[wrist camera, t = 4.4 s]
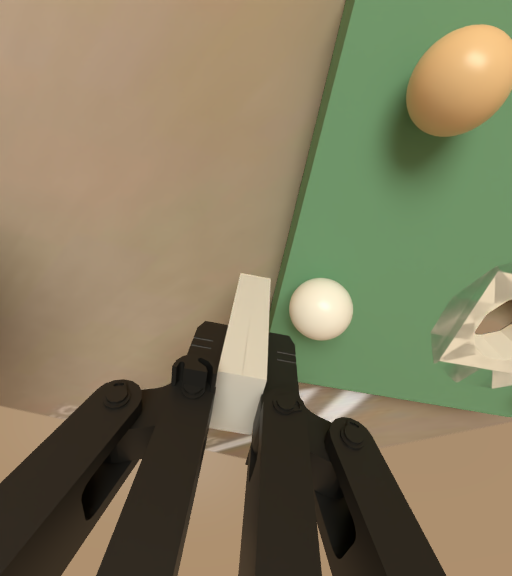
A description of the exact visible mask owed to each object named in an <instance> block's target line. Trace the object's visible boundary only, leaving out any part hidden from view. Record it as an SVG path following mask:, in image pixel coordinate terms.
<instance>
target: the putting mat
mask: <svg viewBox="0 0 512 576" xmlns="http://www.w3.org/2000/svg"><path fill="white" fill-rule="evenodd" d="M480 24H484V25H491V26H494V27H497V28H499V29H501V30H503V31H504V32H505V33H506V34H508V36H509V37H510V38H511V39H512V0H346V2H345V7H344V11H343V15H342V19H341V23H340V27H339V31H338V35H337V39H336V43H335V47H334V51H333V55H332V59H331V64H330V68H329V72H328V76H327V80H326V84H325V88H324V92H323V96H322V100H321V104H320V108H319V112H318V116H317V121H316V125H315V129H314V133H313V137H312V141H311V145H310V149H309V153H308V157H307V161H306V165H305V169H304V174H303V178H302V182H301V186H300V190H299V194H298V198H297V202H296V206H295V210H294V214H293V218H292V222H291V226H290V231H289V235H288V239H287V243H286V247H285V251H284V255H283V259H282V263H281V267H280V271H279V275H278V279H277V283H276V288H275V292H274V296H273V300H272V304H271V308H270V312H269V332H271V333H277V334H282V335H288V336H290V338H291V339H292V341H293V343H294V344H295V352H296V355H295V356H296V364H297V376H298V382H302V383H308V384H314V385H320V386H326V387H332V388H338V389H344V390H350V391H355V392H361V393H367V394H373V395H379V396H385V397H391V398H397V399H403V400H409V401H415V402H421V403H427V404H433V405H439V406H445V407H451V408H457V409H463V410H469V411H475V412H481V413H487V414H493V415H499V416H505V417H512V324H510V325H509V326H507V327H505V328H504V329H502V330H500V331H496V332H492V333H487V334H482V335H478V334H475V330H476V329H477V327H478V326H479V324H480V323H481V322H482V320H483V319H484V317H485V316H486V314H488V313H489V312H491V311H492V310H494V309H496V308H497V307H499V306H500V305H502V304H503V303H505V302H507V301H508V300H512V90H511V92H510V94H509V96H508V98H507V99H506V101H505V102H504V103H503V105H502V106H501V107H500V108H499V110H498V111H497V112H496V113H495V114H494V115H493V116H492V117H490V118H489V119H488V120H487V121H486V122H484V123H483V124H481V125H480V126H478V127H476V128H474V129H473V130H471V131H468V132H466V133H463V134H460V135H456V136H450V137H439V136H433V135H430V134H427V133H425V132H423V131H422V130H420V129H419V128H418V127H417V126H416V125H415V124H414V123H413V121H412V120H411V118H410V116H409V113H408V110H407V104H406V93H407V87H408V83H409V80H410V77H411V75H412V72H413V70H414V68H415V66H416V64H417V63H418V61H419V60H420V58H421V57H422V56H423V55H424V53H425V52H426V51H427V50H428V49H429V48H430V47H431V46H432V45H433V44H434V43H435V42H437V41H438V40H439V39H441V38H442V37H444V36H445V35H447V34H448V33H450V32H452V31H454V30H456V29H459V28H462V27H465V26H469V25H480ZM314 278H327V279H331V280H334V281H336V282H337V283H339V284H340V285H342V286H343V287H344V288H345V289H346V290H347V292H348V293H349V295H350V297H351V300H352V303H353V316H352V320H351V322H350V324H349V326H348V327H347V329H346V330H345V331H344V332H343V333H342V334H340V335H339V336H337V337H335V338H333V339H330V340H323V341H319V340H313V339H310V338H308V337H306V336H304V335H303V334H301V333H300V332H299V331H298V330H297V329H296V328H295V326H294V325H293V323H292V320H291V318H290V314H289V304H290V300H291V297H292V295H293V293H294V291H295V290H296V289H297V288H298V287H299V286H300V285H301V284H302V283H304V282H306V281H308V280H310V279H314Z"/></svg>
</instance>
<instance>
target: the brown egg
mask: <svg viewBox="0 0 512 576" xmlns="http://www.w3.org/2000/svg"><path fill="white" fill-rule="evenodd" d="M511 90H512V39H511V38H510V37H509V36H508V34H506V33H505V32H504V31H503V30H501V29H499V28H497V27H494V26H491V25H484V24H480V25H469V26H465V27H462V28H459V29H456V30H454V31H452V32H450V33H448V34H447V35H445V36H444V37H442V38H441V39H439V40H438V41H437V42H435V43H434V44H433V45H432V46H431V47H430V48H429V49H428V50H427V51H426V52H425V53H424V55H423V56H422V57H421V58H420V60H419V61H418V63H417V64H416V66H415V68H414V70H413V72H412V75H411V77H410V80H409V83H408V87H407V93H406V104H407V110H408V113H409V116H410V118H411V120H412V121H413V123H414V124H415V125H416V126H417V127H418V128H419V129H420V130H422V131H423V132H425V133H427V134H430V135H433V136H439V137H450V136H456V135H460V134H463V133H466V132H468V131H471V130H473V129H474V128H476V127H478V126H480V125H481V124H483V123H484V122H486V121H487V120H488V119H489V118H490V117H492V116H493V115H494V114H495V113H496V112H497V111H498V110H499V108H500V107H501V106H502V105H503V103H504V102H505V101H506V99H507V98H508V96H509V94H510V92H511Z"/></svg>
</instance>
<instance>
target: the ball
mask: <svg viewBox="0 0 512 576" xmlns="http://www.w3.org/2000/svg"><path fill="white" fill-rule="evenodd" d="M289 314H290V318H291V320H292V323H293V325H294V326H295V328H296V329H297V330H298V331H299V332H300V333H301V334H303V335H304V336H306V337H308V338H310V339H313V340H319V341H323V340H330V339H333V338H335V337H337V336H339V335H340V334H342V333H343V332H344V331H345V330H346V329H347V327H348V326H349V324H350V322H351V320H352V316H353V303H352V300H351V297H350V295H349V293H348V292H347V290H346V289H345V288H344V287H343V286H342V285H340V284H339V283H337V282H336V281H334V280H331V279H327V278H314V279H310V280H308V281H306V282H304V283H302V284H301V285H300V286H299V287H298V288H297V289H296V290H295V291H294V293H293V295H292V297H291V300H290V304H289Z"/></svg>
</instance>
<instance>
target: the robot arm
mask: <svg viewBox="0 0 512 576" xmlns="http://www.w3.org/2000/svg"><path fill="white" fill-rule="evenodd" d="M270 282H271V279H270V278H264V277H259V276H254V275H249V274H243V273H241V274H240V278H239V282H238V287H237V291H236V295H235V299H234V303H233V308H232V312H231V316H230V320H229V325H224V324H218V323H213V322H208V321H205V322H204V323H203V324H201V325H200V326H199V327H198V328H197V330H196V333H195V336H194V338H193V341H192V343H191V346H190V349H189V351H188V354H187V355H186V356H183V357H181V358H179V359H178V360H176V362H175V363H174V365H173V366H172V381H171V383H170V384H169V385H166V386H164V387H161V388H156V389H146V390H141V389H140V387H139V385H137V384H136V383H134V382H133V381H129V380H114V381H111V382H109V383H106V384H104V385H103V386H101V387H100V388H98V389H97V390H96V391H95V392H94V393H93V394H92V395H91V396H90V397H89V398H88V399H87V400H86V401H85V402H84V403H83V404H82V405H81V406H80V407H79V408H77V409H76V410H75V411H74V412H73V413H72V414H71V415H70V416H69V417H68V418H67V419H66V420H65V421H64V422H63V423H62V424H61V425H60V426H59V427H58V428H57V429H56V430H55V431H54V432H53V433H52V434H51V435H50V436H49V437H48V438H47V439H46V440H44V442H42V443H41V444H40V446H38V447H37V448H36V449H35V450H34V451H33V452H32V453H31V454H30V455H29V456H28V457H27V458H26V459H25V460H24V461H23V462H22V463H21V464H20V465H19V466H18V467H17V468H16V469H15V470H14V471H13V472H12V473H10V474H9V476H7V477H6V478H5V479H4V480H3V481H2V482H1V483H0V576H61V575H62V573H63V572H64V570H65V569H66V567H67V566H68V564H69V563H70V561H71V560H72V558H73V557H74V555H75V554H76V552H77V551H78V550H79V548H80V547H81V545H82V543H83V542H84V541H85V539H86V538H87V536H88V535H89V533H90V532H91V530H92V529H93V527H94V526H95V524H96V523H97V521H98V520H99V518H100V517H101V516H102V514H103V513H104V511H105V510H106V508H107V507H108V505H109V504H110V502H111V500H112V499H113V498H114V496H115V494H116V493H117V492H118V490H119V489H120V487H121V486H122V484H123V483H124V482H125V480H126V478H127V477H128V475H129V474H130V473H131V471H132V470H133V468H134V467H135V465H136V464H137V462H138V461H139V459H142V461H141V464H140V466H139V469H138V471H137V474H136V477H135V479H134V481H133V484H132V487H131V489H130V492H129V494H128V497H127V499H126V502H125V504H124V507H123V509H122V512H121V514H120V517H119V520H118V522H117V525H116V527H115V530H114V532H113V535H112V537H111V540H110V542H109V545H108V547H107V550H106V553H105V555H104V557H103V560H102V563H101V565H100V568H99V570H98V573H97V575H96V576H177V575H178V570H179V566H180V561H181V557H182V552H183V547H184V543H185V538H186V534H187V529H188V524H189V520H190V514H191V510H192V506H193V501H194V497H195V492H196V487H197V482H198V478H199V473H200V469H201V464H202V460H203V455H204V450H205V446H206V440H207V434H208V430H209V428H212V429H218V430H223V431H229V432H235V433H241V434H247V435H251V434H252V430H253V434H252V443H251V447H250V450H249V453H248V457H247V460H246V465H248V471H247V481H246V493H245V505H244V516H243V528H242V539H241V551H240V563H239V574H238V576H322V572H321V562H320V553H319V541H318V531H317V524H318V528H319V531H320V534H321V538H322V542H323V545H324V549H325V552H326V555H327V559H328V562H329V566H330V569H331V572H332V576H446V574H445V572H444V571H443V569H442V567H441V565H440V563H439V561H438V559H437V557H436V555H435V553H434V552H433V550H432V548H431V546H430V544H429V542H428V540H427V539H426V537H425V535H424V533H423V531H422V529H421V527H420V525H419V523H418V522H417V520H416V518H415V516H414V514H413V512H412V510H411V509H410V507H409V505H408V503H407V501H406V499H405V498H404V495H403V493H402V492H401V490H400V488H399V486H398V484H397V482H396V480H395V478H394V477H393V475H392V473H391V471H390V469H389V467H388V465H387V463H386V462H385V460H384V458H383V456H382V455H381V453H380V450H379V448H378V447H377V445H376V443H375V441H374V439H373V437H372V436H371V434H370V433H369V431H368V430H367V429H366V428H365V427H364V426H363V425H362V424H360V423H359V422H357V421H355V420H353V419H351V418H345V417H341V418H337V419H335V420H334V421H333V422H332V423H331V422H329V421H327V420H325V419H323V418H321V417H319V416H317V415H315V414H313V413H312V412H311V411H309V410H308V409H307V408H306V407H305V405H304V403H303V401H302V400H301V398H300V396H299V388H298V376H297V364H296V356H295V355H296V352H295V344H294V343H293V341H292V339H291V338H290V336H288V335H282V334H277V333H271V332H269V308H270Z"/></svg>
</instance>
